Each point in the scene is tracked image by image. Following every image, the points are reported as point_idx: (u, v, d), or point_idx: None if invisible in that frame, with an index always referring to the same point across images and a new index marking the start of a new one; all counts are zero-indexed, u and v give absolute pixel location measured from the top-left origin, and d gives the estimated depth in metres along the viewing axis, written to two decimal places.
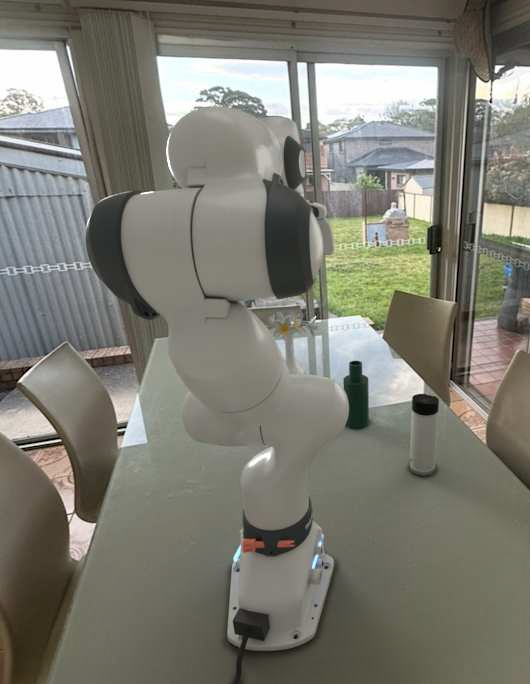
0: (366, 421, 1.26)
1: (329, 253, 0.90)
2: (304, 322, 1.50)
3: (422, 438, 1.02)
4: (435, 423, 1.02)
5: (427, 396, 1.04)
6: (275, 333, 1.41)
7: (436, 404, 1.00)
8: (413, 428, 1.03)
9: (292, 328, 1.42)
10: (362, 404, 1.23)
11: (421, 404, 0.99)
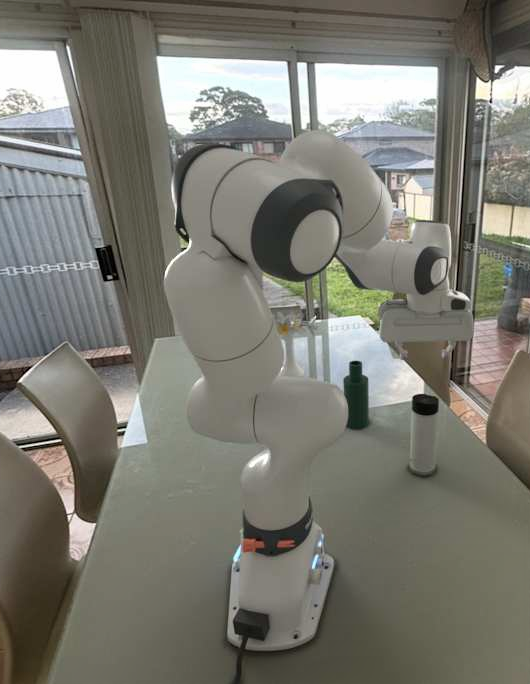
0: (366, 421, 1.26)
1: (469, 339, 0.95)
2: (304, 322, 1.50)
3: (422, 438, 1.02)
4: (435, 423, 1.02)
5: (427, 396, 1.04)
6: None
7: (436, 404, 1.00)
8: (413, 428, 1.03)
9: (292, 328, 1.42)
10: (362, 404, 1.23)
11: (421, 404, 0.99)
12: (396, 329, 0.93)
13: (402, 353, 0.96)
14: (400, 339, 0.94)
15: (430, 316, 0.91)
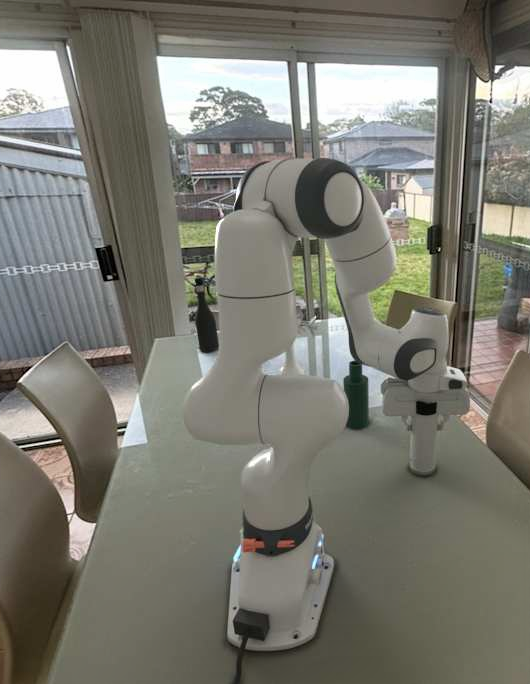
0: (366, 421, 1.26)
1: (465, 413, 1.01)
2: (304, 322, 1.50)
3: (422, 438, 1.02)
4: (435, 423, 1.02)
5: None
6: None
7: (436, 404, 1.00)
8: (413, 428, 1.03)
9: None
10: (362, 404, 1.23)
11: (421, 404, 0.99)
12: (397, 405, 1.00)
13: (407, 425, 1.03)
14: (401, 414, 1.01)
15: (429, 394, 0.98)
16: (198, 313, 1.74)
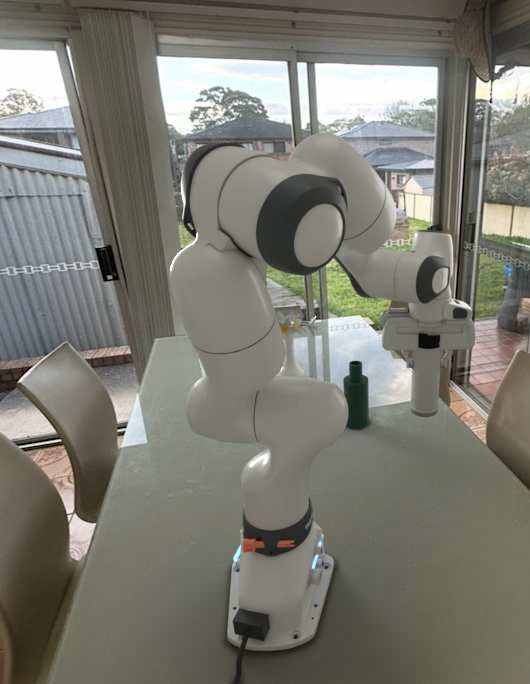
0: (366, 421, 1.26)
1: (470, 348, 0.95)
2: (304, 322, 1.50)
3: (424, 374, 0.96)
4: (438, 358, 0.96)
5: None
6: None
7: (439, 337, 0.94)
8: (414, 364, 0.97)
9: (292, 328, 1.42)
10: (362, 404, 1.23)
11: (423, 336, 0.93)
12: (398, 337, 0.94)
13: (408, 361, 0.97)
14: (402, 347, 0.95)
15: (432, 325, 0.92)
16: None
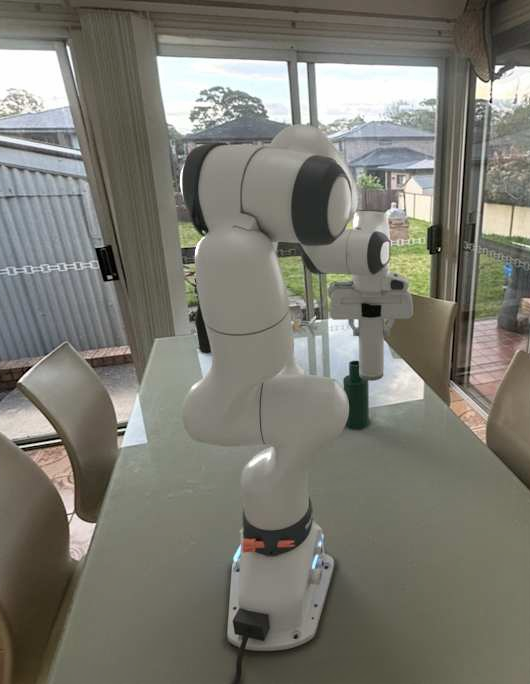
0: (366, 421, 1.26)
1: (409, 317, 1.06)
2: (304, 322, 1.50)
3: (368, 341, 1.07)
4: (380, 326, 1.06)
5: None
6: None
7: (380, 307, 1.04)
8: (360, 332, 1.07)
9: (292, 328, 1.42)
10: (362, 404, 1.23)
11: (365, 305, 1.03)
12: (343, 308, 1.04)
13: (354, 330, 1.08)
14: (347, 317, 1.05)
15: (372, 295, 1.02)
16: (198, 313, 1.74)
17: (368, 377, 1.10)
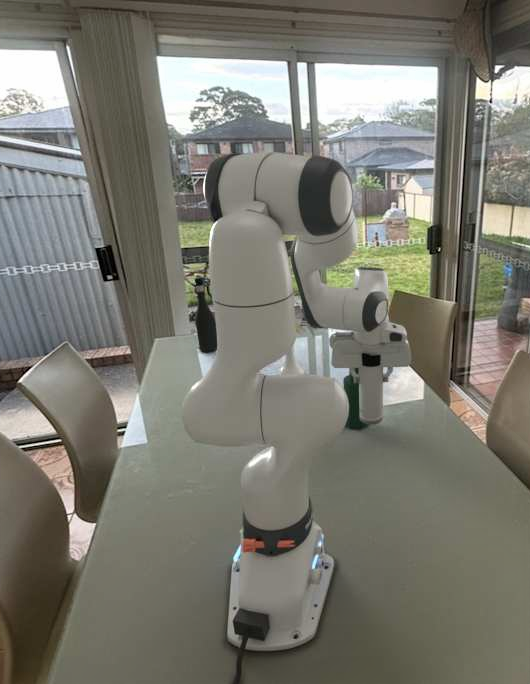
0: None
1: (407, 365, 1.11)
2: (304, 322, 1.50)
3: (368, 388, 1.11)
4: (379, 374, 1.11)
5: None
6: None
7: (379, 356, 1.09)
8: (360, 379, 1.12)
9: None
10: None
11: (365, 356, 1.08)
12: (344, 357, 1.09)
13: (355, 377, 1.12)
14: (348, 365, 1.10)
15: (372, 346, 1.07)
16: (198, 313, 1.74)
17: (368, 421, 1.15)
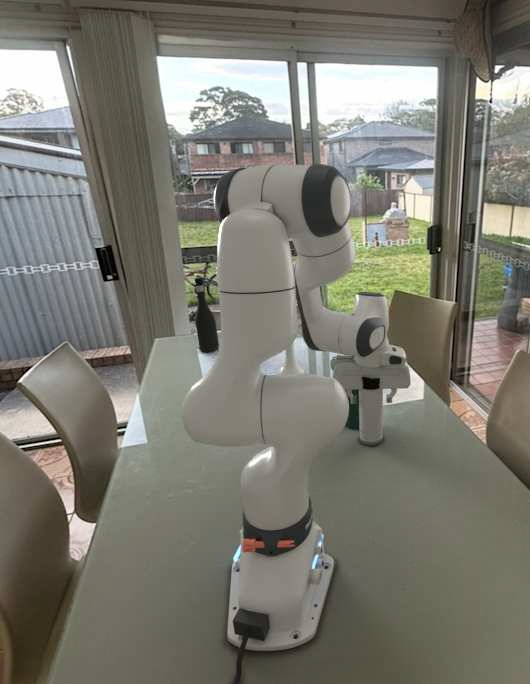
0: None
1: (407, 387, 1.13)
2: None
3: (368, 410, 1.14)
4: (379, 397, 1.13)
5: None
6: None
7: (379, 379, 1.12)
8: (360, 402, 1.15)
9: None
10: None
11: (365, 379, 1.11)
12: (345, 379, 1.12)
13: (351, 398, 1.15)
14: (349, 387, 1.12)
15: (372, 369, 1.09)
16: (198, 313, 1.74)
17: (368, 442, 1.18)
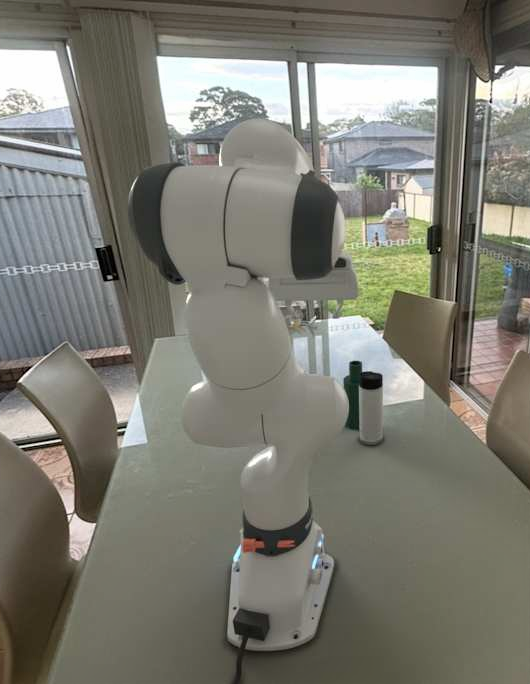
0: None
1: (354, 298, 0.98)
2: (304, 322, 1.50)
3: (368, 410, 1.14)
4: (379, 397, 1.13)
5: (373, 373, 1.16)
6: None
7: (379, 379, 1.12)
8: (360, 402, 1.15)
9: (292, 328, 1.42)
10: None
11: (365, 379, 1.11)
12: (282, 288, 0.96)
13: (292, 312, 0.99)
14: (287, 298, 0.97)
15: None
16: None
17: (368, 442, 1.18)
